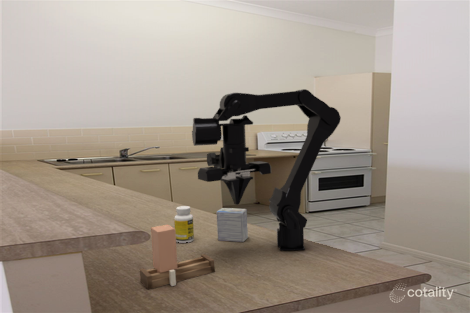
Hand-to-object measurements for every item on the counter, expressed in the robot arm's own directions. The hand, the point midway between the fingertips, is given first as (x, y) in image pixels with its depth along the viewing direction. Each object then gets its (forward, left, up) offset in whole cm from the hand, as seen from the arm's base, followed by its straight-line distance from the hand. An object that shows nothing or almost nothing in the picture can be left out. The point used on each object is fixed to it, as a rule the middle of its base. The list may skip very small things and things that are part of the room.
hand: (236, 204), depth 105 cm
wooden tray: (+13, +14, -13) cm, 23 cm away
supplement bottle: (+16, -12, -13) cm, 24 cm away
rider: (+16, +16, -11) cm, 25 cm away
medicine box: (+2, -12, -13) cm, 18 cm away
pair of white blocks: (+16, +15, -13) cm, 26 cm away
